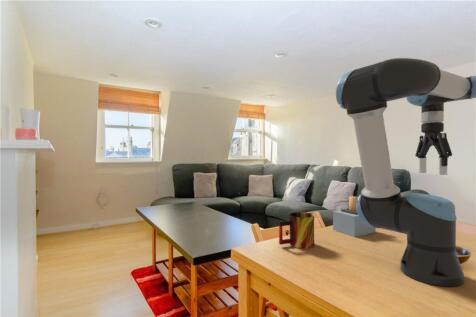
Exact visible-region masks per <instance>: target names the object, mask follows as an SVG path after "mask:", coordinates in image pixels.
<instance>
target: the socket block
mask: <svg viewBox="0 0 476 317" xmlns="http://www.w3.org/2000/svg"><path fill="white" fill-rule="evenodd" d="M332 223H333V224H332V225H333V226H332V227H333V228H332V230H333V231H334V230H336V231H335V232H338V231H339V232H338V233H341V234H343V235H348V236H350V237H353V238H355V237H361V236H366V235H370V234H374V233H376V232H377V231H376V230H377V228H375V227H373V226H370V225H367V224H365V223H363V222H362V221H361V219H360V218H359V216H358V213H357V211H350V210H349V207H348V208H346V207H345V208H341V209H339V210H333V211H332Z"/></svg>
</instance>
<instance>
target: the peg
mask: <svg viewBox="0 0 476 317" xmlns="http://www.w3.org/2000/svg"><path fill="white" fill-rule="evenodd" d="M358 197H359V196H349V197H348V204H349V205H348V208H349V210H350V211H357V209H356V204H357V203H358V202H357V199H358Z"/></svg>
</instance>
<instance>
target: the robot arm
mask: <svg viewBox="0 0 476 317" xmlns="http://www.w3.org/2000/svg"><path fill="white" fill-rule="evenodd" d="M404 98H406V101H407V102H408V103H409V104H410V105H413V106H416V107H420V111H421V115H420V117H421V121H420V122H421V125H420V127H421V128H420V129H421V131H420V132H421V133H423V134H424V135H420V136H419V141H418V145H417V148H416V151H415V152H416V153H415V157H417V159H418V173H419V174H427V154H428V152H429V150H430V148H431V147H432V146H433V147H434V148H435V150H436V152H437V154H438V158H437V159H438V176H439V175H440V176H447V175H448V163H449V162H448V160H449V158H450V157H452V156H453V153H452V149H451V146H450V143H449V141H448V138H447V136H448V135H447V132H444V131H445V125H444V119H445V115H444V114H445V109H444V108H445V105H444V104H445V103H449V102H457V101H463V100H465V101H466V100H472V99H476V75H470V76H468V77H464V76H462V75H459V74H455V73H453V72H452V73H451V72H448V71H445V70H442V69H440V67H439V66H438V65H437V64H436V63H434V62H431V61H428V60H425V59H419V58H409V57H397V58H389V59H385V60H383V61H378V62H376V63H374V64H369V65H367V66H363V67H359V68H356V69H353V70H350V71H348V72H346V73H344V74H343V75H341V77H340V78H339V80H338V82H337V84H336V88H335V100H336V101H337V102H336V103H337V104H338V105H339V107H340V108H341V109H344V110H346V114H347V116H349V117H350V118H351V119H352V120H353V126H354V130H355V131H354V132H355V136H356V143H357V148H358V154H359V159H360V166H361V171H362V177H363V182H364V187H363V189H361V191H360V194H359V195H358V196H357V197H358V199H357V202H358V203H357V204H356V209H357V213H358V216H359V218H360V219H361V221H362V222H363V223H365V224H367V225H370V226H373V227H375V228H376V229H382V230H385V231H386V230H387V231H391V232H395V233H400V234H404V235H406V248H405V249H404V251H403V254H402V256H401V260H400V270H401V272H402V273H403V274H404V275H405V276H408V277H409V278H411V279H414V280H416V281H419V282H421V283H426V284H428V285H429V284H430V285H433V286H434V285H435V286H440V287H459V286H461V285H463V284H464V283H465V273H464V270H463V268H462V265H461V262H460V260H459V257H458V255H457V249H456V248H457V247H456V246H457V244H456V242H457V239H456V238H457V223H456V222H457V215H456V206H455V204H454V203H453V201H451V200H449V199H447V198H444V197H442V196H437V195H432V194H427V193H420V192H419V193H418V192H411V193H410V192H409V193H407V194H406V196H403V195H402V194H401V188H400V187H399V186H397V185H396V184H394V183H395V182H394V177H393V176H394V175H393V170H392V165H391V157H390V152H389V151H390V150H389V146H388V139H387V134H386V132H387V131H386V126H385V119H384V112H385V111H386V109H387V108H388V102H391V101H396V100H400V99H404Z"/></svg>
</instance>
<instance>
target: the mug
mask: <svg viewBox="0 0 476 317" xmlns="http://www.w3.org/2000/svg"><path fill="white" fill-rule="evenodd" d="M278 226H279V227H278V231H279V233H278V244H279V245H287V244H289V246H291V247H293V248H295V247H296V248H295V249H297V248H298V249H300V250H301V249H303V250H304V249H305V250H307V249H313V248H314V247H315V214H313V213H311V212H304V211H301V212H300V211H297V212H296V211H295V212H290V213H289V220H284V221H279V223H278ZM285 226H287V227H288V226H289V238H285V239H283V227H285Z"/></svg>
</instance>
